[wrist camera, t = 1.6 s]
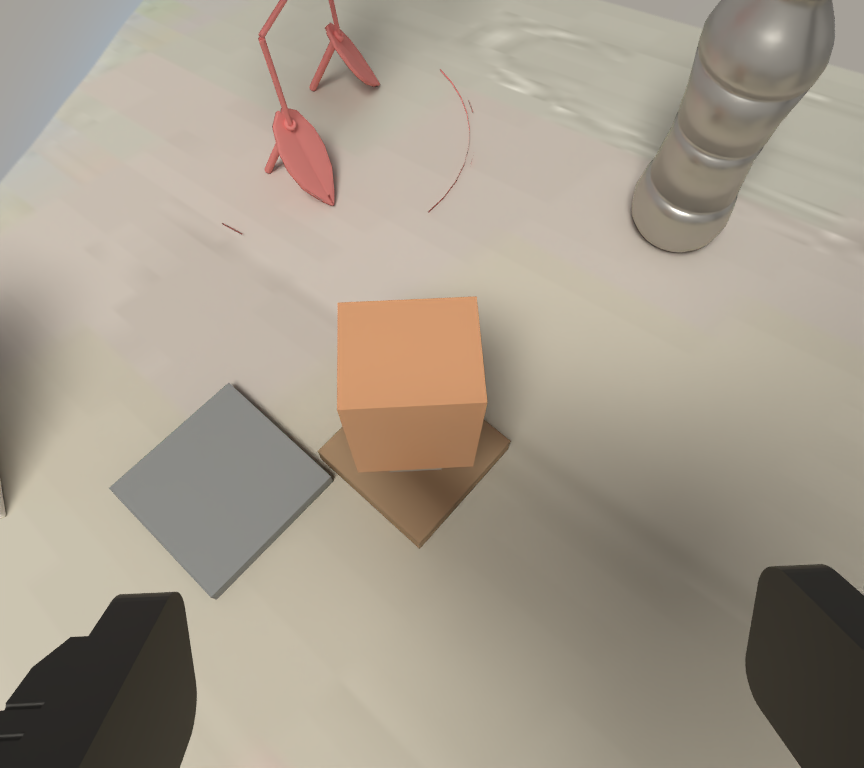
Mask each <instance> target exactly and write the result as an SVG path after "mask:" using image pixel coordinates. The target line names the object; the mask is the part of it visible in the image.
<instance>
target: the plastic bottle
mask: <svg viewBox="0 0 864 768" xmlns="http://www.w3.org/2000/svg"><path fill="white" fill-rule="evenodd" d="M834 19H835V17H834V11H833V3H832V0H721V1H720V2H719V3H718V5H717V6H716V7H715V8H714V10H713V11H712V12H711V14H710V15H709V17H708V18H707V20H706V21H705V24H704V27H703V30H702V33H701V36H700V39H699V43H698V47H697V51H696V55H695V59H694V62H693V66H692V70H691V74H690V78H689V82H688V85H687V88H686V91H685V93H684V96H683V99H682V101H681V104H680V107H679V111H678V112H677V115H676V118H675V120H674V123H673V126H672V127H671V129H670V131H669V133H668V135H667V136H666V138H665V140H664V142H663V144H662V146H661V147H660V149H659V151H658V153H657V155H656V156H655V158H654V159H653V160H652V161H651V162H650V164H649V165H648V166H647V168H646V170H645V171H644V173H643V174H642V176H641V178H640V179H639V181H638V182H637V184H636V187H635V191H634V196H633V202H632V216H633V219H634V222H635V224H636V226H637V228H638V230H639V232H640V233H641V234H642V236H643V237H644V238H645V239H646V240H647V241H648V242H650V243H651V244H653V245H654V246H656V247H658V248H660V249H663V250H666V251H670V252H687V251H692V250H697V249H699V248H702V247H704V246H706V245H707V244H708V243H710V242H711V241H712V240H713V239H714V238H715V237H716V236H717V235H718V234H719V233H720V232H721V231H722V230H723V229H724V227H725V226H726V224H727V222H728V220H729V218H730V215H731V213H732V211H733V208H734V206H735V203H736V199H737V195H738V192H739V190H740V188H741V186H742V184H743V182H744V180H745V178H746V176H747V174H748V172H749V170H750V168H751V166H752V164H753V162H754V160H755V159H756V157H757V156H758V154H759V153H760V152H761V150H762V148H763V146H764V145H765V144H766V143H767V142H768V140H769V139H770V137H771V136H772V134H773V133H774V132H775V130H776V129H777V127H778V126H779V124H780V123H781V122H782V121H783V120H784V118H785V117H786V116H787V115H788V114H789V113H790V111H791V110H792V109H793V108H794V107H795V106H796V104H797V103H798V102H799V101H800V100H801V99H802V97H803V96H804V95H805V94H806V93H807V92H808V90H809V89H810V88H811V87H812V86H813V85H814V84H815V82H816V81H817V80H818V78H819V77H820V75H821V74H822V73H823V71H824V70H825V68H826V66H827V64H828V62H829V59H830V55H831V52H832V49H833V45H834V39H835V20H834Z"/></svg>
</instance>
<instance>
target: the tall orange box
mask: <svg viewBox="0 0 864 768" xmlns="http://www.w3.org/2000/svg"><path fill="white" fill-rule="evenodd" d="M486 407H487V394H486V384H485V374H484V365H483V355H482V345H481V335H480V325H479V315H478V306H477V297H456V298H433V299H411V300H388V301H366V302H344V303H338V356H337V411H338V414H339V417H340V420H341V423H342V426H343V429H344V432H345V435H346V438H347V441H348V444H349V447H350V450H351V453H352V456H353V459H354V462H355V465H356V468H357V471H358V473H359V472H378V471H397V470H416V469H435V468H453V467H472V466H473V465H474V461H475V456H476V452H477V447H478V443H479V438H480V434H481V429H482V425H483V420H484V416H485V411H486Z"/></svg>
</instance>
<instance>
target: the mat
mask: <svg viewBox="0 0 864 768" xmlns="http://www.w3.org/2000/svg"><path fill="white" fill-rule="evenodd" d="M332 482H333V480H332V478H331V476H330V475H329V474H328V473H327V472H325V471H324V470H323V469H322V468H321V467H320V466H319V465H318V464H317V463H316V462H315V461H314V460H312V459H311V458H310V457H309V456H308V455H307V454H306V453H305V452H304V451H303V450H302V449H300V448H299V447H298V446H297V445H296V444H295V443H294V442H293V441H292V440H291V439H290V438H288V437H287V436H286V435H285V434H284V433H283V432H282V431H281V430H280V429H279V428H278V427H277V426H275V425H274V424H273V423H272V422H271V421H270V420H269V419H268V418H267V417H266V416H265V415H263V414H262V413H261V412H260V411H259V410H258V409H257V408H256V407H255V406H254V405H253V404H251V403H250V402H249V401H248V400H247V399H246V398H245V397H244V396H243V395H242V394H241V393H240V392H238V391H237V390H236V389H235V388H234V387H233V386H232V385H231V384H230V383H228V384H227V385H225V386H224V387H223V388H222V389H221V390H220V391H219V392H218V393H216V394H215V395H214V396H213V397H212V398H211V399H210V400H208V401H207V402H206V403H205V404H204V405H203V406H202V407H200V408H199V409H198V410H197V411H196V412H195V413H194V414H193V415H191V416H190V417H189V418H188V419H187V420H186V421H185V422H183V423H182V424H181V425H180V426H179V427H178V428H177V429H176V430H174V431H173V432H172V433H171V434H170V435H169V436H168V437H166V438H165V439H164V440H163V441H162V442H161V443H160V444H158V445H157V446H156V447H155V448H154V449H153V450H152V451H151V452H149V453H148V454H147V455H146V456H145V457H144V458H143V459H141V460H140V461H139V462H138V463H137V464H136V465H135V466H134V467H132V468H131V469H130V470H129V471H128V472H127V473H126V474H124V475H123V476H122V477H121V478H120V479H119V480H118V481H117V482H115V483H114V484H113V485H112V486H111V487H110V488H109V489H110V490H111V491H112V492H113V493H114V494H115V495H116V496H117V497H118V499H119V500H120V501H121V502H122V503H123V504H124V505H125V506H126V507H127V508H128V509H129V510H130V511H131V512H132V513H133V515H134V516H135V517H136V518H137V519H138V520H139V521H140V522H141V523H142V524H143V525H144V526H145V527H146V528H147V530H148V531H149V532H150V533H151V534H152V535H153V536H154V537H155V538H156V539H157V540H158V541H159V542H160V543H161V545H162V546H163V547H164V548H165V549H166V550H167V551H168V552H169V553H170V554H171V555H172V556H173V557H174V558H175V560H176V561H177V562H178V563H179V564H180V565H181V566H182V567H183V568H184V569H185V570H186V571H187V572H188V573H189V574H190V576H191V577H192V578H193V579H194V580H195V581H196V582H197V583H198V584H199V585H200V586H201V587H202V588H203V589H204V591H205V592H206V593H207V594H208V595H209V596H210V597H211V598H214V599H217V598H218V597H219V596H220V595H221V594H222V593H223V592H224V591H225V590H226V589H227V588H228V587H229V586H230V585H231V584H232V583H233V582H234V581H235V580H236V579H237V578H238V577H239V576H240V575H241V574H242V573H243V572H244V571H245V570H246V569H247V568H248V567H249V566H250V565H251V564H252V563H253V562H254V561H255V560H256V559H257V558H258V557H259V556H260V555H261V554H262V553H263V552H264V551H265V550H266V549H267V548H268V547H269V546H270V545H271V544H272V543H273V542H274V541H275V540H276V539H277V538H278V537H279V536H280V535H281V534H282V533H283V532H284V531H285V530H286V529H287V528H288V526H289V525H290V524H291V523H292V522H293V521H294V520H295V519H296V518H297V517H298V516H299V515H300V514H301V513H302V512H303V511H304V510H305V509H306V508H307V507H308V506H309V505H310V504H311V503H312V502H313V501H314V500H315V499H316V498H317V497H318V496H319V495H320V494H321V493H322V492H323V491H324V490H325V489H326V488H327V487H328V486H329V485H330V484H331V483H332Z"/></svg>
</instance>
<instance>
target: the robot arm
mask: <svg viewBox="0 0 864 768" xmlns="http://www.w3.org/2000/svg"><path fill="white" fill-rule="evenodd" d="M746 674H747V679H748V683H749V687H750V690H751V692H752V695H753V697H754V699H755V701H756V703H757V705H758V706H759V708H760V709H761V711H762V712H763V714H764V715H765V716H766V718H767V719H768V721H769V722H770V724H771V725H772V726H773V728H774V729H775V731H776V732H777V734H778V735H779V736H780V738H781V739H782V741H783V742H784V743H785V745H786V746H787V748H788V749H789V751H790V752H791V753H792V755H793V756H794V758H795V759H796V760H797V762H798V763H799V765H800V766H801V768H864V595H862V594H861V593H860V592H859V591H858V590H857V589H856V588H854V587H853V586H852V585H851V584H850V583H849V582H848V581H846V580H845V579H844V578H843V577H842V576H841V575H839V574H838V573H837V572H836V571H835V570H833V569H832V568H831V567H829V566H827V565H823V564H818V565H796V566H774V567H768V568H766V569H765V570H763V572H762V573H761V575H760V578H759V581H758V587H757V593H756V598H755V604H754V610H753V616H752V622H751V628H750V634H749V640H748V646H747V652H746ZM196 701H197V689H196V680H195V673H194V666H193V659H192V652H191V646H190V639H189V632H188V625H187V618H186V612H185V606H184V601H183V598H182V596H181V595H180V593H178V592H164V593H141V594H120V595H118V596H116V597H115V598H114V599H113V600H112V602H111V603H110V604H109V606H108V607H107V609H106V610H105V612H104V614H103V615H102V617H101V618H100V620H99V621H98V623H97V624H96V626H95V627H94V629H93V630H92V632H91V633H90V635H89V636H84V637H70V638H69V639H68V640H67V641H65V642H64V643H63V644H61V645H60V646H59V647H58V648H56V649H55V650H54V651H53V652H51V653H50V654H49V655H47V656H46V657H45V658H44V659H42V660H41V661H40V662H39V663H37V664H36V665H35V666H33V667H32V668H31V670H30V671H29V673H28V674H27V675H26V677H25V678H24V679H23V681H22V682H21V683H20V685H19V686H18V688H17V689H16V690H15V692H14V693H13V694H12V696H11V697H10V698H9V700H8V701H7V702H6V708H5V710H4V711H0V768H180V765H181V763H182V760H183V757H184V754H185V751H186V749H187V746H188V743H189V740H190V737H191V734H192V730H193V725H194V720H195V713H196Z"/></svg>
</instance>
